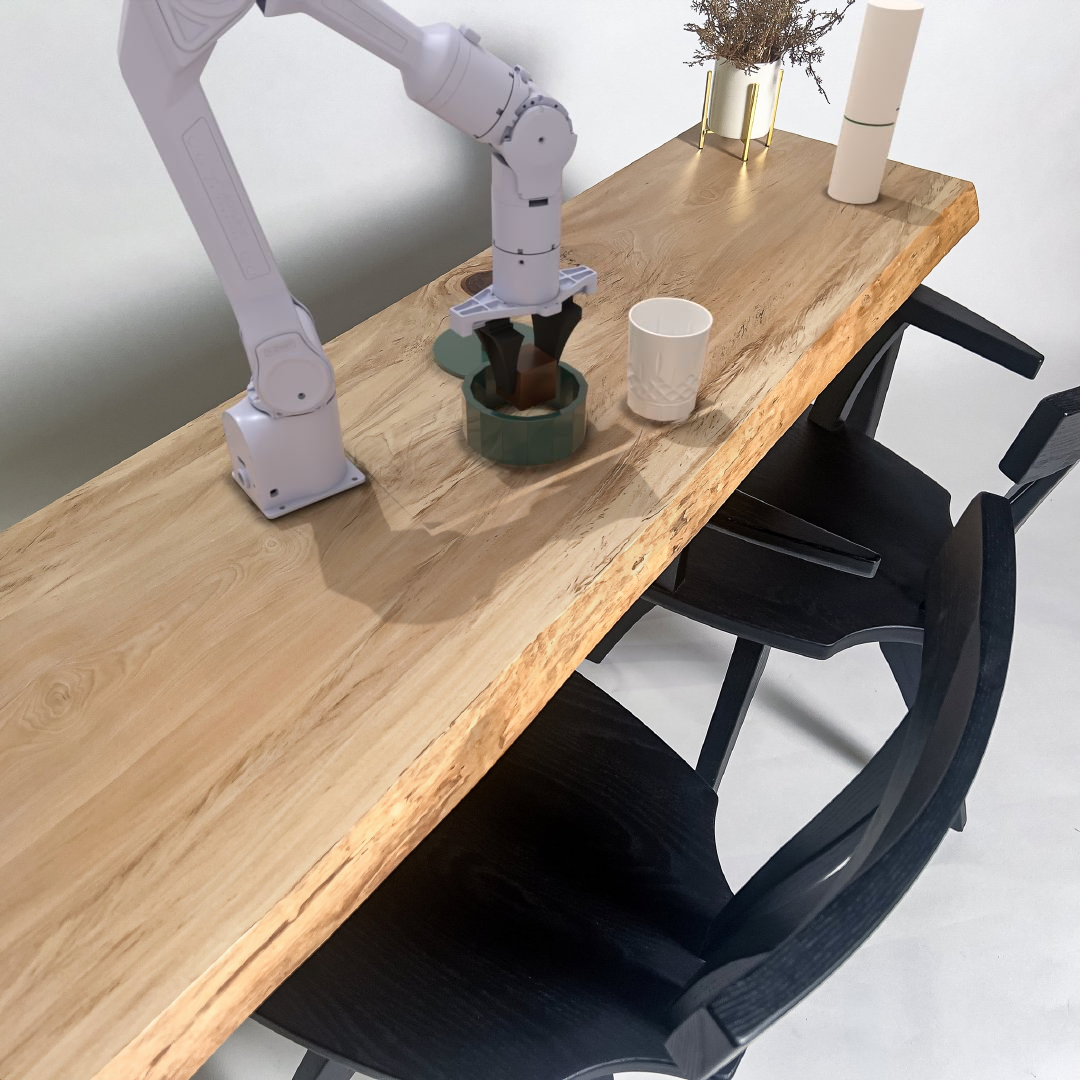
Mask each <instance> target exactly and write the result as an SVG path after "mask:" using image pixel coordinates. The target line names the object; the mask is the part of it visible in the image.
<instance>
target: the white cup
mask: <svg viewBox="0 0 1080 1080" xmlns="http://www.w3.org/2000/svg"><path fill="white" fill-rule="evenodd" d="M627 320H628V322H627V323H628V324H627V350H626V351H627V353H626V383H627V399H626V400H627V403H626V405H627V406H628V407H629V408H630V410H631V411H632V412H633V413H634V414H636V415H638V416H641V417H643V418H644V419H647V420H653V421H659V422H667V421H672V422H670V423H669V425H673V424H678V423H680V422H683V421H686V420H688V419H689V418H690V417H691V415H692V412H693V411H694V410H695V408H696V401H697V396H698V391H699V387H700V385H701V382H702V377H703V371H704V368H705V363H706V358H707V353H708V349H709V342H710V337H711V333H712V327H713V324H714V318H713V315H712V313H711V312H710V311H709V310H708V309H707V308H706V307H704V306H703V305H701V304H699V303H697V302H694V301H691V300H688V299H683V298H678V297H668V296H667V297H665V296H664V297H663V296H662V297H653V298H648V299H644V300H642V301H639V302H637V303H636V304H634V305H633V306H631V308H630V309H629V311H628V319H627Z"/></svg>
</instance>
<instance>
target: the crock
mask: <svg viewBox="0 0 1080 1080" xmlns="http://www.w3.org/2000/svg"><path fill="white" fill-rule="evenodd" d="M460 392H461V393H460V394H461V415H462V416H461V418H462V419H461V420H462V432H463V436H464V438H465V441H466V444H467V445H468V446H469V447H470V448H471V449H472V450H474V451H475V452H476V453H477V454H478V455H479V456H481V457H483V458H485V459H489V460H491V461H494V462H497V463H499V464H502V465H511V466H520V467H521V466H522V467H532V466H540V465H546V464H547V465H548V464H553V463H555V462H557V461H560V460H563V459H564V458H566V457H569V456H571V455H573V454H574V452H576V451H577V450H578V449H579V448H580V447H581V446H582V445H583V443H584V442H585V436H586V431H587V419H588V402H589V383H588V382H587V379H586V378H585V377H584V374H583V373H582V372H581V371H579V370H578V369H577V368H575V367H573V366H572V365H571V364H569V363H567V362H566V361H562V360H560V361H559V364H558V367H557V370H556V397H555V398H554V399H551V400H549V401H546V402H544V403H543V404H544V405H547V406H551V407H553V408H556V409H558V410H556V411H553V412H551V413H547V414H540V415H532V416H522V415H511V414H504V413H502V412H499V411H495V410H493V408H495V407H498V406H500V405H504V404H510V403H509V402H508V401H506V400H505V399H504V398H503V397H501V396H500V395H499V394H497V393H496V382H495V378H494V374H493V371H492V368H491V364H490V362H489V361H487V362H484V363H481V364H479V365H478V366H476V367H475V368H474V369H473V370H471V371H470V372H469V373H468V374H466V376H465V379H463V382H462V383H461V387H460Z"/></svg>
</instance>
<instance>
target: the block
mask: <svg viewBox="0 0 1080 1080" xmlns="http://www.w3.org/2000/svg"><path fill="white" fill-rule="evenodd" d="M556 366H557V360H555V359H554V358H553V357H551V356H550V355H548V354H547V353H545V352H544V351H542V350H541V349H539V348H538V347H536V346H535V345H533V344H532V343H528V344H525V345H522V346H521V348H520V352H519V356H518V362H517V382H516V389H515V393H514V394H511V395H507V394H506V393H504V392H503V391H502V390H500V389H499V388H498V387H497V386H496V393H497V394H499V395H500V396H501V397H503V398H504V399H505V400H506V401H508V402H509V403H508V404H510V405H512V407H514V408H516V409H517V410H518V411H520V412H524V411H526V410H529V409H531V408H533V407H536V406H538V405H541V404H544V402H546V401H549V400H551V399H554V398H555V397H556Z"/></svg>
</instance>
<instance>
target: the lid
mask: <svg viewBox="0 0 1080 1080" xmlns="http://www.w3.org/2000/svg"><path fill="white" fill-rule="evenodd" d="M510 322H511V323H513V328H514V329H515V330H517V331H518V332H520V333H521V334H523V335H524V336H525V337H524V340H523V342H522V345H525V344H528V343H532V344H533V345H534V331H533V326H530V325H528V324H525V323H522V322H518V321H513V320H510ZM522 345H521V346H522ZM432 356H433V359H434V361H435V363H436V365H438V367H439V368H441V370H444V371H445V372H446V373H448V374H450V375H452V376H454V377H457V378H460V379H463V380H464V379H465V376H466V374H468V373H469V372H470V371H471V370H473V369H474V368H475V367H476V366H478V365H479V364H481V363H484V362H487V361H489V359H488V356H487V354H486V352H485V349H484V347H483V345H482V343H481V342H480V340H479V338H478V336H477V335H476V333H475V331H474V330H472V335H469V336H466V337H462V336H460V335H458V334H457V333H456V332H454V331H453V330H452V329H450V328H448V329H446V330H445V331H443V332H441V334H439V335H438V336H437V337H436V339H435V341H434V342H433V345H432Z"/></svg>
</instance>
